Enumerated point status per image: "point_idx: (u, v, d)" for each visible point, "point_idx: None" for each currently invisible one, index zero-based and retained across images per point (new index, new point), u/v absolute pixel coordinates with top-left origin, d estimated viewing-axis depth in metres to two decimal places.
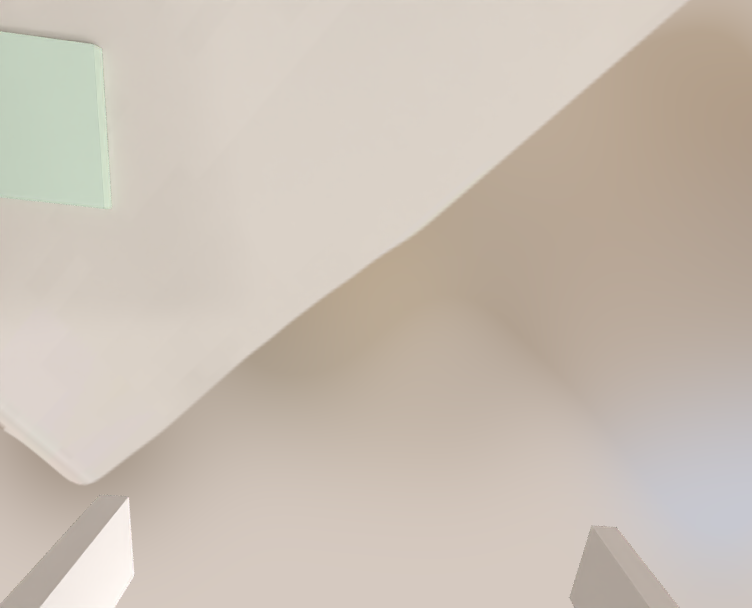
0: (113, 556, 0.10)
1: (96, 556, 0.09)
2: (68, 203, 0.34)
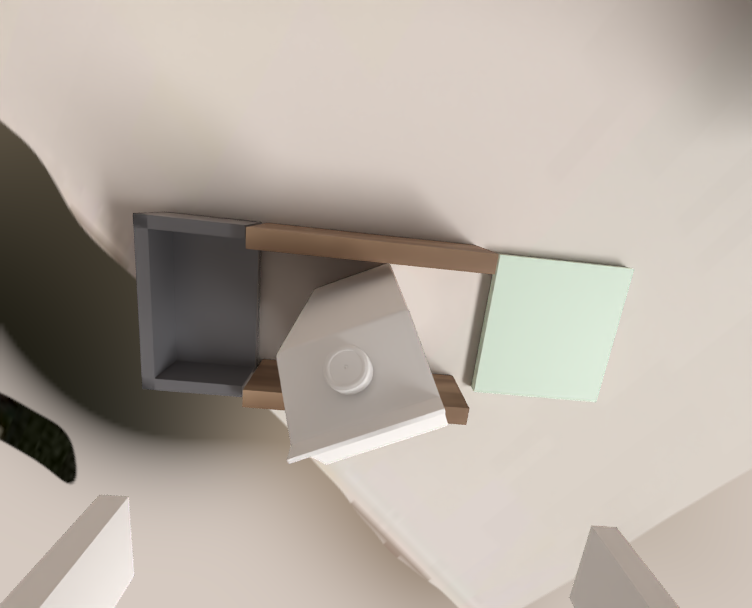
0: (113, 556, 0.10)
1: (96, 556, 0.09)
2: (565, 398, 0.36)
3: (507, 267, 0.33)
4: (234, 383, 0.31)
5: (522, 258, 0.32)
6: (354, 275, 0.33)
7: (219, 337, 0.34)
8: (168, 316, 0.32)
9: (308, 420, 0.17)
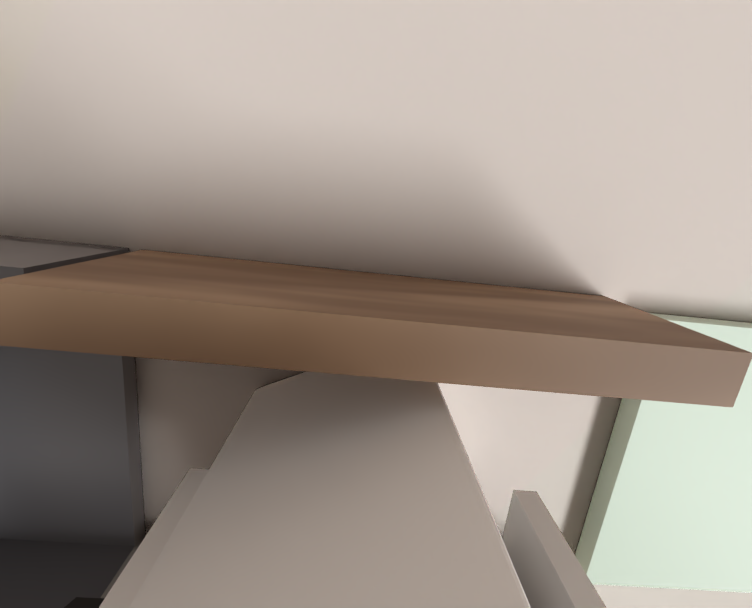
0: None
1: None
2: None
3: None
4: None
5: (714, 327, 0.15)
6: None
7: (52, 492, 0.16)
8: None
9: None
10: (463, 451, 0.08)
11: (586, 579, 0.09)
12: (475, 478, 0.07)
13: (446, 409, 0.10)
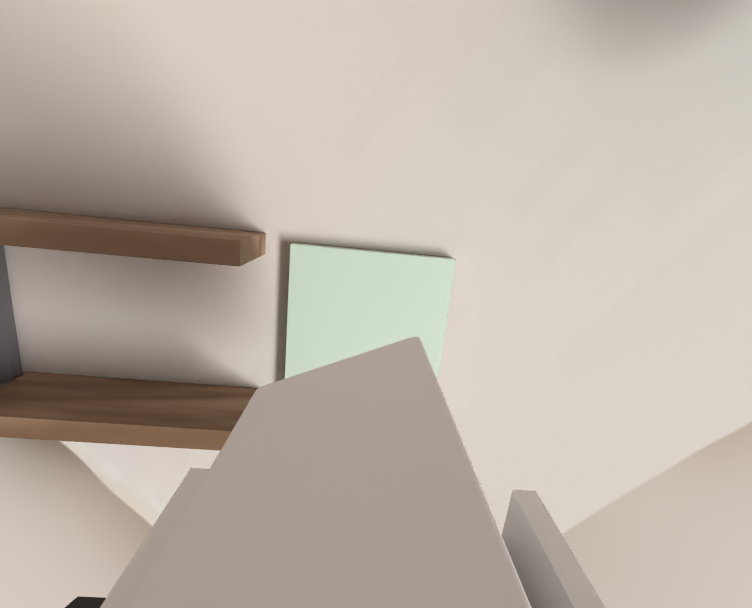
0: None
1: None
2: None
3: (301, 259, 0.27)
4: None
5: (318, 248, 0.27)
6: (342, 363, 0.15)
7: None
8: None
9: None
10: (464, 451, 0.08)
11: (585, 579, 0.09)
12: (476, 478, 0.07)
13: (447, 409, 0.10)
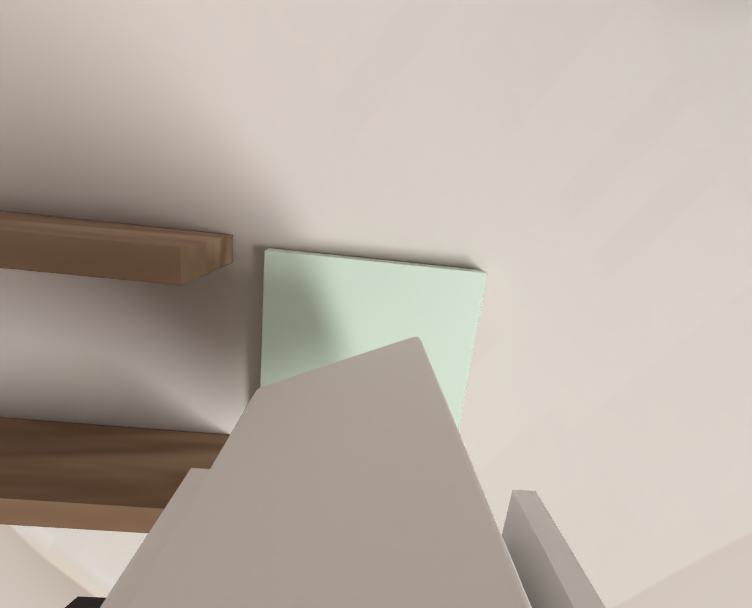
0: None
1: None
2: None
3: (279, 271, 0.20)
4: None
5: (302, 256, 0.20)
6: (342, 363, 0.15)
7: None
8: None
9: None
10: (464, 452, 0.08)
11: (585, 579, 0.09)
12: (476, 479, 0.07)
13: (447, 410, 0.10)
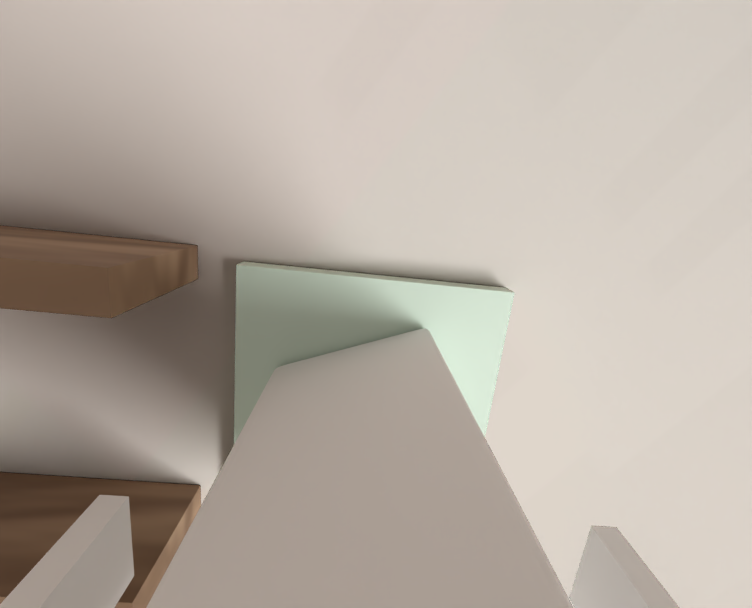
0: (113, 556, 0.10)
1: (97, 556, 0.09)
2: None
3: (255, 291, 0.16)
4: None
5: (283, 272, 0.16)
6: (356, 348, 0.16)
7: None
8: None
9: None
10: (474, 419, 0.10)
11: None
12: (485, 439, 0.09)
13: (457, 388, 0.11)
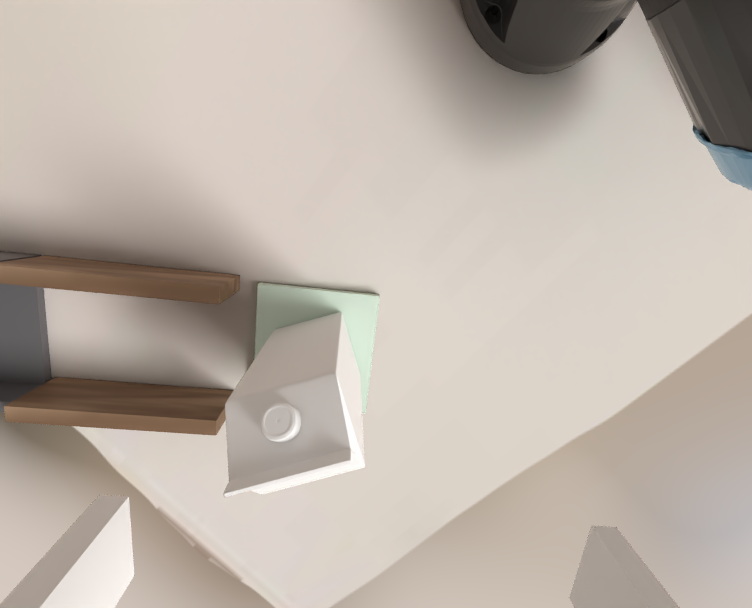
0: (113, 556, 0.10)
1: (97, 556, 0.09)
2: None
3: (266, 295, 0.37)
4: (7, 400, 0.35)
5: (278, 287, 0.37)
6: (310, 320, 0.37)
7: (8, 357, 0.37)
8: None
9: (245, 461, 0.22)
10: (339, 335, 0.31)
11: None
12: (338, 338, 0.30)
13: (339, 328, 0.32)
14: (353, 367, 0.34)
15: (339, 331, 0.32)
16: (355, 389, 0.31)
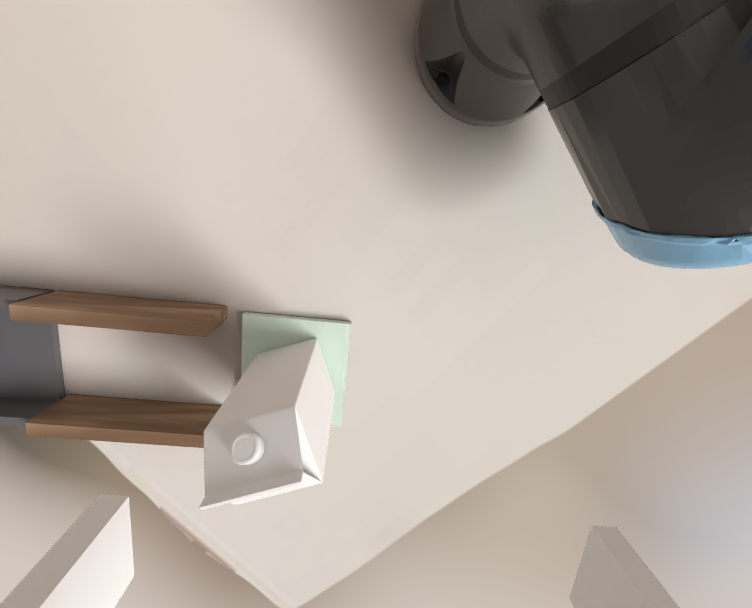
0: (113, 556, 0.10)
1: (96, 556, 0.09)
2: None
3: (249, 324, 0.42)
4: (28, 417, 0.40)
5: (260, 317, 0.42)
6: (289, 346, 0.42)
7: (28, 378, 0.43)
8: None
9: (218, 480, 0.26)
10: (307, 364, 0.35)
11: None
12: (306, 368, 0.34)
13: (310, 357, 0.37)
14: (324, 389, 0.39)
15: (309, 360, 0.36)
16: (323, 411, 0.36)
